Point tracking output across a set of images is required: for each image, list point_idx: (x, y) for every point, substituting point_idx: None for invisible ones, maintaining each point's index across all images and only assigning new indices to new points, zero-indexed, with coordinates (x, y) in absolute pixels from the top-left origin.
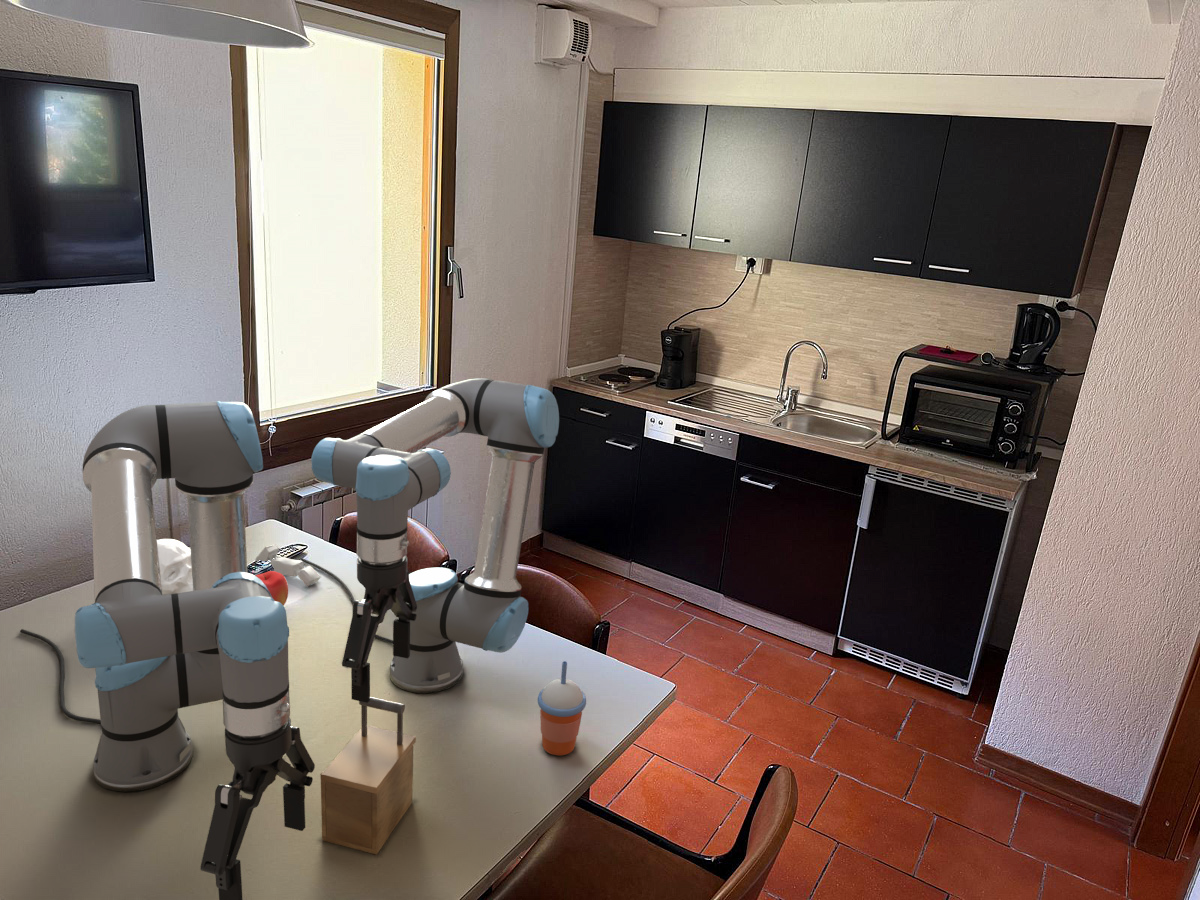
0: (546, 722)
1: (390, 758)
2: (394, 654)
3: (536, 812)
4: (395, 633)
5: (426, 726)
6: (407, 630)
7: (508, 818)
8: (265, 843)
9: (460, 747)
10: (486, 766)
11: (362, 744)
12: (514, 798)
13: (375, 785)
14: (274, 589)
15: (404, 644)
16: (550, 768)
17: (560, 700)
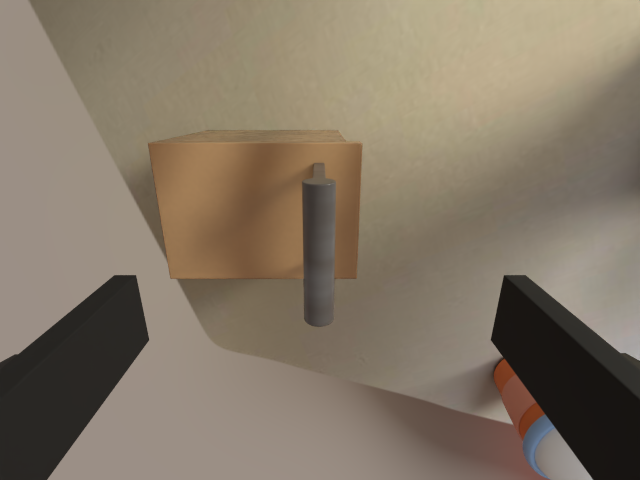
0: (523, 405)
1: (264, 263)
2: (505, 286)
3: (370, 380)
4: (585, 371)
5: (540, 159)
6: (593, 473)
7: (348, 354)
8: (159, 37)
9: (488, 241)
10: (448, 294)
11: (285, 181)
12: (388, 349)
13: (175, 273)
14: None
15: (532, 374)
16: (464, 373)
17: (550, 468)
